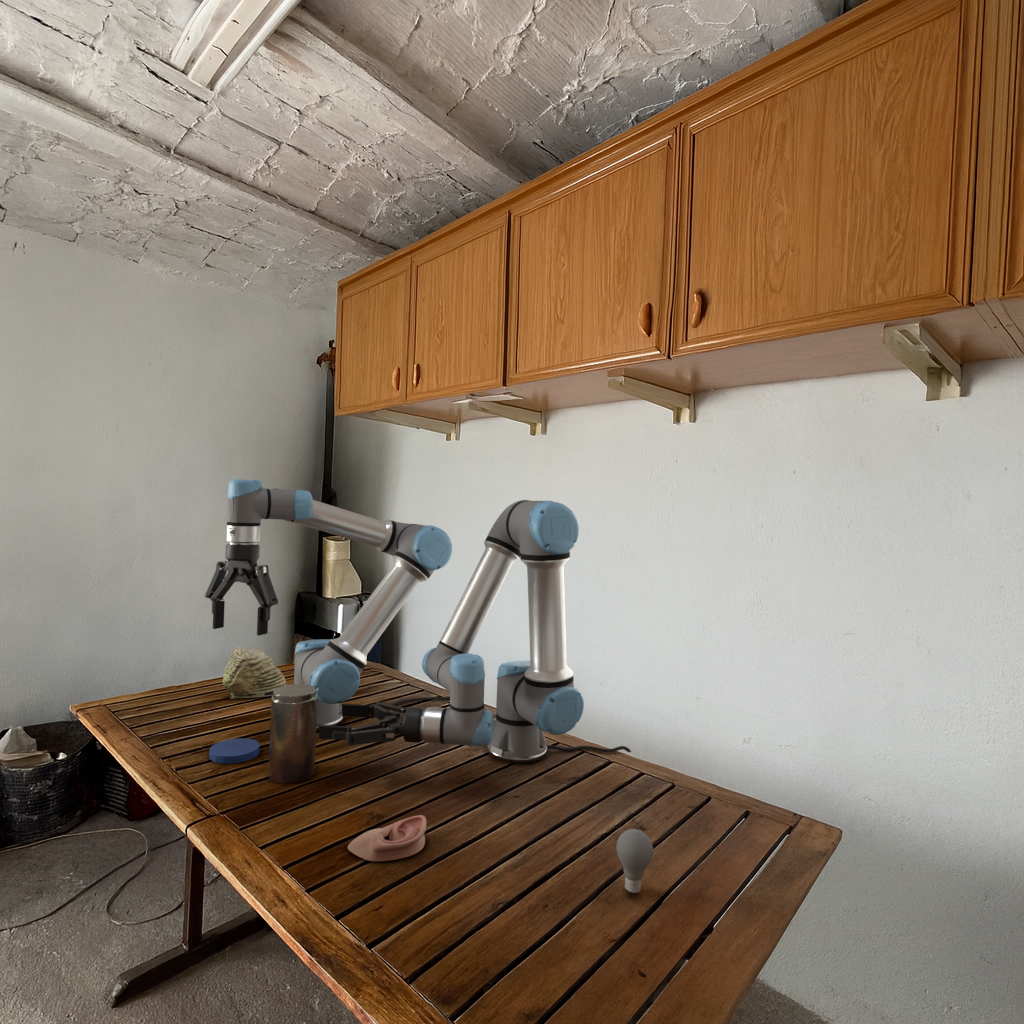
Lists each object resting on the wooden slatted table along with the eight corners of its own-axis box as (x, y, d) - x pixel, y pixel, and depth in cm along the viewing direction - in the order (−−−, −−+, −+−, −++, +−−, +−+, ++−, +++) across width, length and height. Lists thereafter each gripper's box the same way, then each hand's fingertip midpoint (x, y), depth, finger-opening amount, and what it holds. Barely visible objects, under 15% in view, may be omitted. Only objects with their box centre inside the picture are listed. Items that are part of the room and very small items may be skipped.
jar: (260, 773, 143) (263, 689, 143) (299, 760, 151) (302, 680, 151) (283, 787, 137) (287, 699, 137) (323, 773, 145) (326, 690, 144)
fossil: (218, 695, 195) (220, 647, 195) (278, 685, 208) (279, 640, 207) (228, 703, 189) (230, 653, 188) (289, 692, 201) (290, 645, 201)
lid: (259, 760, 150) (259, 753, 150) (207, 766, 146) (207, 758, 146) (259, 743, 161) (260, 736, 161) (210, 747, 156) (211, 740, 156)
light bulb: (610, 879, 108) (613, 822, 108) (644, 879, 109) (647, 822, 109) (619, 902, 102) (622, 840, 102) (655, 901, 103) (658, 840, 103)
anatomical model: (340, 834, 112) (368, 804, 123) (339, 856, 112) (367, 824, 123) (411, 845, 109) (433, 813, 120) (410, 868, 109) (432, 834, 120)
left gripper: (191, 540, 153) (188, 627, 154) (273, 547, 145) (270, 640, 145) (215, 539, 160) (212, 622, 161) (295, 546, 152) (292, 634, 152)
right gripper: (409, 766, 128) (308, 760, 130) (436, 721, 153) (350, 717, 155) (409, 729, 128) (308, 724, 130) (436, 690, 153) (351, 686, 155)
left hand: (239, 631), depth 153 cm, fingers open, 13 cm apart
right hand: (331, 720), depth 143 cm, fingers open, 13 cm apart
